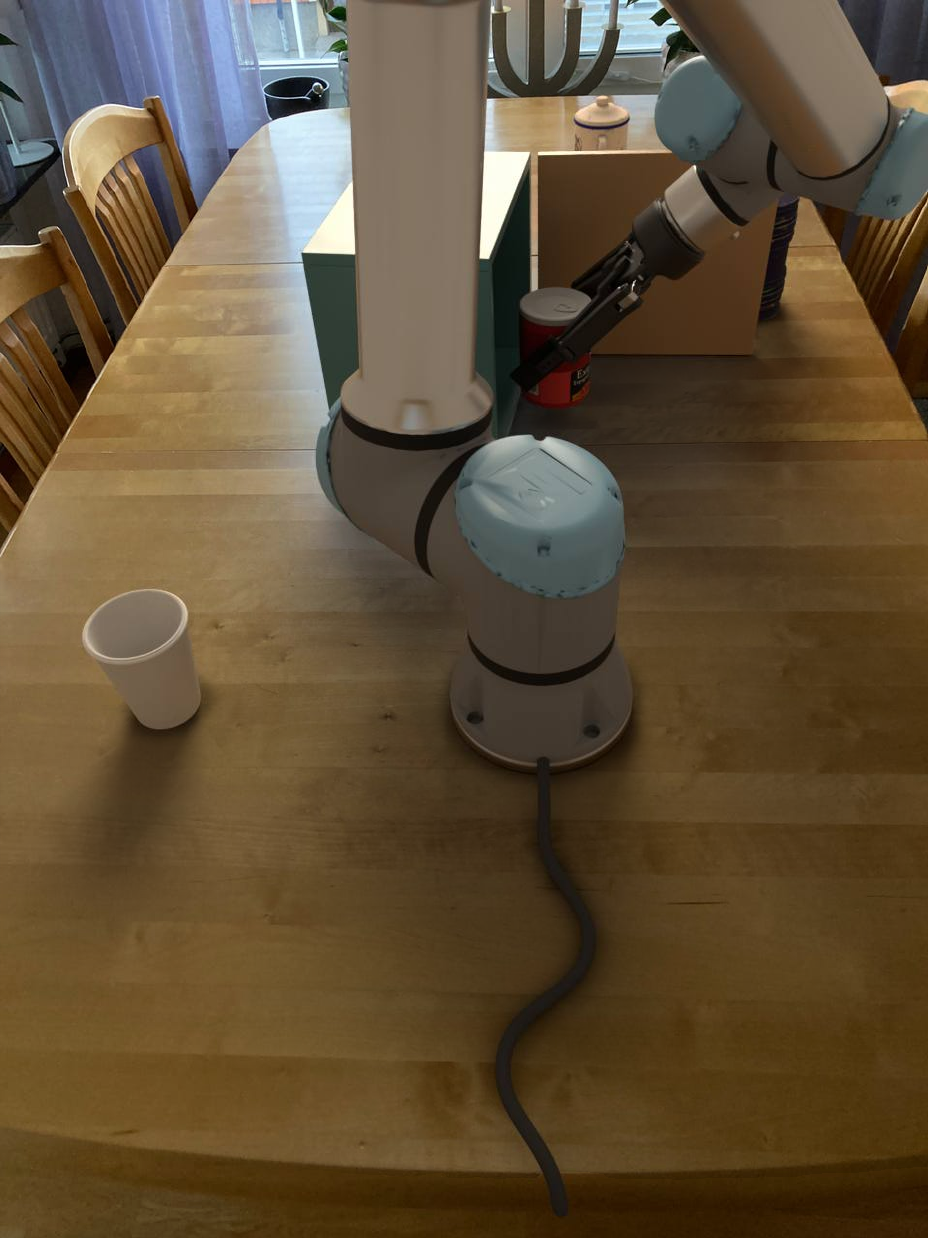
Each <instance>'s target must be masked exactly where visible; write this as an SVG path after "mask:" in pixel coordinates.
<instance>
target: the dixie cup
mask: <svg viewBox="0 0 928 1238" xmlns="http://www.w3.org/2000/svg"><path fill="white" fill-rule="evenodd" d="M188 621H189V612H188V608H187V606H186V604H185V603H184V602H183V600H182V599H181V598H179V597H178V596H177V595H175V594H173V593H172V592H170V591H166V590H162V589H154V588H144V589H143V588H142V589H136V590H131V591H128V592H124V593H121V594H118V595H117V596H115V597H112V598H111V599H109V600H107V601H106V602H104V603H103V604H101V605H100V606H99V607H98V608H97V609H95V611H93V612H92V614H91V615H90V616H89V617H88V619H87V620H86V622H85V623H84V627H83V629H82V635H81V641H82V646H83V648H84V649H85V651H86V653H87V654H88V655H89V656H90V657H91V658H93V659H94V660H95V661H96V662H97V664H98V665H99V667H100V668H101V669H102V670H103V672H104V674H105V675H106V676H107V678H108V679H109V681H110V682H111V683H112V685H113V686H114V688H115V689H116V691H117V692H118V693H119V696H121V697H122V699H123V700H124V702H125V703H126V705H127V706H128V708H129V709H130V710H131V712H132V713H133V715H134V716H135V717H136V719H137V720H138V721H139V723H140V724H142V725H143V726H145V727H146V728H149V729H152V730H167V729H173V728H175V727H178V726H180V725H182V724H184V723H186V722H187V721H189V720H190V719H191V718H192V717H193V716H194V715H195V714H196V712H197V711H198V710H199V707H200V705H201V702H202V701H201V700H202V695H201V694H202V693H201V689H200V683H199V677H198V674H197V667H196V661H195V657H194V650H193V646H192V641H191V635H190V629H189V625H188V623H189V622H188Z"/></svg>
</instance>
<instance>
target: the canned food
mask: <svg viewBox="0 0 928 1238" xmlns="http://www.w3.org/2000/svg"><path fill="white" fill-rule="evenodd" d="M590 302H591V299H590V297H588V296H587V295H586V294H584V293H582V292H580V291H577V290H574V289H570V288H561V287H552V288H543V289H539V290H538V289H535V290H532V292H530V293H528V294H526V295H525V296H524V297H523V298H522V299H521V300H520V304H519V348H520V364H521V363H523V362H524V361H525V360H526V359H527V358H528V357H530V356H531V355H532V354H533V353H534V352H535V351H537V350H538V349H539V348H540V347H541V346H542V345H543V344H545V343H546V342H547V341H548V340H547V338H548V337H549V335H550V334H551V335H552V336H553V337H554V338H556V337H558V336H559V335H560V333H561V332H562V331H563V330H564V329H565V328H566V327H567V326H568V325H569V324H570V323H571V322H572V321H573V320H574V319H575V317H576V316H577V315H578V314H579V313H580V312H581V311H582V310H583V309H584V308H585V307H586V306H587V305H588V304H589V303H590ZM591 362H592V354H591V349H590V350H589V351H588V352H586V353H585V354H584V355H583V356H582V357H581V358H580V359H579V360H578V361H577V362H576V363H575V364H573V365H570V364H569V363H568V362H567V361H564V362H563V363H562V364H561V365H560V366H558V367H557V368H556V369H555V370H554V371H552V372H551V373H550V374H549V375H548V376H546V377H545V378H544V379H543V380H542V381H540V382H539V383H538V384H537V385H536V386H534V387H533V388H532V389H531V390H529V391H528V392H527V393H526V392H525V391H524V390H523V389H522V388H521V394H522V396H523V398H524V399H525V400H526V401H527V402H528V403H530V404H531V405H534V406H536V407H539V408H541V409H547V410H563V409H569V408H572V407H574V406H576V405H579V404H580V403H582V402H583V401H584V400H585V399H586V398H587V396H588V393H589V391H590V383H591V364H592V363H591Z"/></svg>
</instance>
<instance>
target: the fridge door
mask: <svg viewBox="0 0 928 1238" xmlns="http://www.w3.org/2000/svg"><path fill="white" fill-rule="evenodd" d="M692 166H693V164H691V163H689V162H682V161H681V160H679V159H678V156H676V155H675V154H674V153H673V152H671V151H670V150H669V149H628V150H627V149H626V150H616V151H574V150H573V151H572V150H571V151H569V150H566V151H565V150H563V151H538V152H537V290H539V289H543V288H552V287H561V288H570V289H572V288H571V284H572V282H573V281H574V280H576V279H577V278H579V277H580V276H581V275H582V274H584V273H585V272H586V271H587V270H588V269H590V268H591V267H592V266H593V265H595V264H596V263H597V262H598V261H600V260H601V259H602V258H603V257H604V256H606V255H607V254H608V253H609V252H611V251H612V250H613V249H614V248H615V247H617V246H618V245H619V244H620V243H621V242H622V241H623V240H624V239H625V238H626V237H627V236H628V235H629V234H630V233H631V232H632V223H633V221H634V219H635V218H636V217H637V216H638V215H639V214H640V213H642V212H643V211H644V210H645V209H646V208H647V207H648V206H649V205H650V204H652V203H653V202H654V201H655V200H656V199H657V198H664V194H665V191H666V189H667V188H668V187H670V186H671V185H672V184H673V183H674V182H675V181H676V180H677V179H679V178H680V177H681V176H682V175H683V174H684V173H685V172H686V171H688V170H689V169H690V168H691V167H692ZM778 199H779V198H778ZM778 199H777V200H776V201H774V202H773V203H772V204H771V205H769V206H768V207H767V208H765V209H764V210H763V211H762V212H760V213H759V214H758V215H757V216H755V217H754V218H753V219H752V220H751V221H750V222H749V223H748V224H746V225H745V226H743V227H742V228H741V229H740V230H739V236H738V238H736V239H735V240H732V239H730V238H729V239H727V240H726V241H725V242H724V243H723V244H722V245H720V246H719V247H718V248H717V249H715V250H714V251H713V252H711V253H708V252H705V256H704V260H703V261H702V262H700V263H699V264H698V265H697V266H695V267H694V268H693V269H692V270H691V271H689V272H688V273H687V274H686V275H685V276H683V277H682V278H681V279H679V280H670V279H667V278H666V277H665V276H660V275H657V276H655V278H654V279H653V280H652V281H651V286H650V287H649V288H648V289H647V290H646V291H645V292H644V293H643V294H642V295H640V297H641V298H642V299H643V300H644V302H643V303H642V305H641V307H639V308H638V309H636V310H635V311H633V312H632V313H631V314H629V315H628V316H626V317H625V318H624V319H623V320H622V321H621V322H620V323H618V324H617V325H616V326H615V327H614V328H613V329H612V330H611V331H610V332H609V333H607V334H606V335H605V336H604V337H603V338H602V339H601V340H600V341H599V342H598V343H596V344H595V345H594V346H593V347H592V348H591V355H687V356H688V355H690V356H691V355H692V356H693V355H702V356H703V355H705V356H706V355H707V356H708V355H709V356H713V355H715V356H717V355H718V356H720V355H723V356H752V355H753V349H754V344H755V338H756V332H757V327H758V322H757V321H758V315H759V309H760V303H761V297H762V292H763V286H764V280H765V274H766V269H767V263H768V257H769V251H770V245H771V240H772V234H773V228H774V222H775V216H776V211H777V205H778Z"/></svg>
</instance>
